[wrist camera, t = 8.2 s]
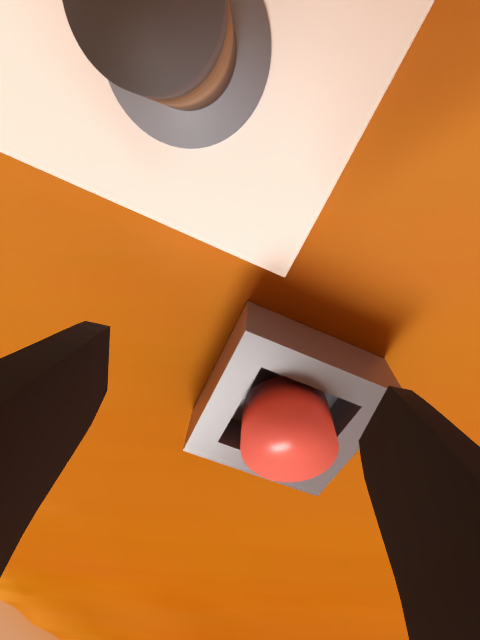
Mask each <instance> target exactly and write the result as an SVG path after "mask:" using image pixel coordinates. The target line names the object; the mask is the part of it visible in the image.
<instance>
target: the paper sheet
mask: <svg viewBox="0 0 480 640" xmlns="http://www.w3.org/2000/svg"><path fill="white" fill-rule="evenodd" d="M434 1H435V0H228V2H229V7H230V11H231V16H232V21H233V26H234V30H235V35H236V42H237V58H236V65H235V70H234V73H233V76H232V79H231V81H230V83H229V85H228V87H227V89H226V90H225V91H224V93H223V94H222V95H221V96H220V97H219V98H218V100H216V101H215V102H214V103H213V104H211V105H209V106H207V107H206V108H203V109H200V110H196V111H182V110H178V109H174V108H172V107H169V106H166V105H164V104H161V103H158V102H156V101H153V100H150V99H148V98H145V97H143V96H140V95H137V94H135V93H132V92H130V91H127V90H125V89H122V88H120V87H119V86H117V85H115V84H114V83H112V82H111V81H109V80H108V79H107V78H105V77H104V76H103V75H102V74H101V73H100V72H99V71H98V70H97V69H96V68H95V67H94V66H93V65H92V64H91V62H90V61H89V60H88V59H87V57H86V56H85V54H84V53H83V51H82V50H81V48H80V47H79V45H78V43H77V41H76V39H75V37H74V35H73V33H72V31H71V28H70V26H69V23H68V20H67V17H66V14H65V11H64V6H63V2H62V0H0V152H2V153H4V154H6V155H9V156H11V157H13V158H15V159H18V160H20V161H22V162H24V163H27V164H29V165H31V166H33V167H36V168H38V169H40V170H43V171H45V172H47V173H49V174H52V175H54V176H56V177H58V178H61V179H63V180H65V181H67V182H70V183H72V184H74V185H76V186H79V187H81V188H83V189H85V190H88V191H90V192H92V193H94V194H97V195H99V196H101V197H104V198H106V199H108V200H110V201H113V202H115V203H117V204H119V205H122V206H124V207H126V208H128V209H131V210H133V211H135V212H137V213H140V214H142V215H144V216H146V217H149V218H151V219H153V220H155V221H158V222H160V223H162V224H165V225H167V226H169V227H171V228H174V229H176V230H178V231H180V232H183V233H185V234H187V235H189V236H192V237H194V238H196V239H198V240H201V241H203V242H205V243H207V244H210V245H212V246H214V247H216V248H219V249H221V250H223V251H225V252H228V253H230V254H232V255H235V256H237V257H239V258H241V259H244V260H246V261H248V262H250V263H253V264H255V265H257V266H259V267H262V268H264V269H266V270H268V271H271V272H273V273H275V274H277V275H280V276H282V277H284V278H285V277H286V275H287V273H288V271H289V269H290V267H291V265H292V264H293V262H294V260H295V258H296V256H297V254H298V253H299V251H300V249H301V247H302V245H303V243H304V241H305V240H306V238H307V236H308V234H309V232H310V230H311V228H312V227H313V225H314V223H315V221H316V219H317V217H318V215H319V214H320V212H321V210H322V208H323V206H324V204H325V203H326V201H327V199H328V197H329V195H330V193H331V191H332V190H333V188H334V186H335V184H336V182H337V180H338V178H339V177H340V175H341V173H342V171H343V169H344V167H345V166H346V164H347V162H348V160H349V158H350V156H351V154H352V153H353V151H354V149H355V147H356V145H357V143H358V141H359V140H360V138H361V136H362V134H363V132H364V130H365V129H366V127H367V125H368V123H369V121H370V119H371V117H372V116H373V114H374V112H375V110H376V108H377V106H378V104H379V103H380V101H381V99H382V97H383V95H384V93H385V91H386V90H387V88H388V86H389V84H390V82H391V80H392V79H393V77H394V75H395V73H396V71H397V69H398V67H399V66H400V64H401V62H402V60H403V58H404V56H405V54H406V53H407V51H408V49H409V47H410V45H411V43H412V42H413V40H414V38H415V36H416V34H417V32H418V30H419V29H420V27H421V25H422V23H423V21H424V19H425V17H426V16H427V14H428V12H429V10H430V8H431V6H432V4H433V3H434Z"/></svg>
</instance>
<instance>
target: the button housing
mask: <svg viewBox="0 0 480 640" xmlns="http://www.w3.org/2000/svg"><path fill="white" fill-rule="evenodd" d="M284 376H285V377H288V378H290V379H293V380H295V381H298V382H301V383H303V384H306V385H308V386H311V387H313V388H316V389H318V390H321V391H322V392H323V393H324V395H325V396H326V399H327V401H328V405H329V409H330V413H331V416H332V420H333V424H334V428H335V431H336V435H337V439H338V443H339V451H338V455H337V458H336V460H335V461H334V463H333V464H332V465H331V466H330V468H329V469H327V470H326V471H325V472H323V473H322V474H320V475H318V476H316V477H314V478H311V479H308V480H304V481H299V482H278V481H274V482H277V483H280V484H283V485H286V486H289V487H292V488H295V489H298V490H300V491H303V492H306V493H309V494H312V495H315V496H318V495H319V494H320V493H321V491H322V490H323V489H324V488H325V487H326V486H327V485H328V484H329V482H330V481H331V480H332V479H333V478H334V477H335V476H336V474H337V473H338V472H339V471H340V470H341V469H342V468H343V467H344V465H345V464H346V463H347V462H348V461H349V460H350V459H351V458H352V456H353V455H354V454H355V453H356V452H357V451H358V450H359V449H360V448H359V439H360V437H361V435H362V433H363V432H364V430H365V428H366V426H367V424H368V423H369V421H370V419H371V417H372V415H373V413H374V412H375V410H376V408H377V406H378V404H379V402H380V401H381V399H382V397H383V395H384V393H385V392H386V390H387V388H388V386H393V387H398V388H401V386H400V385H399V383H398V381H397V380H396V378H395V376H394V374H393V373H392V371H391V369H390V367H389V366H388V364H387V362H386V360H385V359H384V358H382V357H379V356H377V355H375V354H372V353H370V352H368V351H365V350H363V349H361V348H358V347H356V346H353V345H351V344H349V343H346V342H344V341H342V340H339V339H337V338H335V337H332V336H330V335H328V334H325V333H323V332H320V331H318V330H316V329H313V328H311V327H309V326H306V325H304V324H302V323H299V322H297V321H294V320H292V319H290V318H287V317H285V316H283V315H280V314H278V313H276V312H273V311H271V310H268V309H266V308H264V307H261V306H259V305H257V304H254V303H252V302H250V301H247V303H246V305H245V307H244V309H243V311H242V313H241V315H240V317H239V319H238V321H237V323H236V325H235V327H234V329H233V331H232V333H231V335H230V337H229V339H228V341H227V343H226V345H225V347H224V349H223V351H222V353H221V355H220V357H219V359H218V361H217V363H216V365H215V367H214V369H213V371H212V373H211V375H210V377H209V379H208V381H207V383H206V385H205V387H204V389H203V391H202V393H201V395H200V397H199V399H198V401H197V403H196V405H195V407H194V409H193V411H192V415H191V419H190V423H189V427H188V432H187V436H186V440H185V444H184V448H183V451H186V452H189V453H192V454H195V455H197V456H200V457H203V458H206V459H209V460H212V461H215V462H218V463H221V464H224V465H227V466H230V467H233V468H236V469H239V470H242V471H245V472H247V473H250V474H253V475H256V476H259V477H262V476H260V475H258V474H256V473H255V472H253V471H252V470H251V469H250V468H249V467H248V466H247V465H246V464H245V462H244V461H243V458H242V456H241V452H240V442H241V425H242V408H243V403H244V400H245V398H246V396H247V394H248V393H249V392H250V391H251V390H252V389H253V388H254V387H255V386H256V385H258V384H259V383H261V382H263V381H265V380H268V379H271V378H276V377H284ZM262 478H264V477H262ZM265 479H267V478H265ZM268 480H270V479H268ZM271 481H273V480H271Z"/></svg>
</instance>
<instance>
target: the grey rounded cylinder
mask: <svg viewBox="0 0 480 640" xmlns="http://www.w3.org/2000/svg"><path fill="white" fill-rule="evenodd" d="M62 2H63V6H64V11H65V14H66V17H67V20H68V23H69V26H70V28H71V31H72V33H73V35H74V37H75V39H76V41H77V43H78V45H79V47H80V48H81V50H82V51H83V53H84V54H85V56H86V57H87V59H88V60H89V61H90V62H91V64H92V65H93V66H94V67H95V68H96V69H97V70H98V71H99V72H100V73H101V74H102V75H103V76H104V77H105V78H107V79H108V80H109V81H111V82H112V83H114V84H115V85H117V86H119V87H120V88H122V89H125V90H127V91H130V92H132V93H135V94H137V95H140V96H143V97H145V98H148V99H150V100H153V101H156V102H158V103H161V104H164V105H166V106H169V107H172V108H174V109H178V110H182V111H196V110H200V109H203V108H206V107H207V106H209V105H211V104H213V103H214V102H215V101H216V100H218V98H219V97H220V96H221V95H222V94H223V93H224V91H225V90H226V89H227V87H228V85H229V83H230V81H231V79H232V76H233V73H234V70H235V65H236V58H237V42H236V35H235V30H234V26H233V21H232V16H231V11H230V7H229V2H228V0H62Z"/></svg>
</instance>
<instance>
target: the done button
mask: <svg viewBox="0 0 480 640" xmlns="http://www.w3.org/2000/svg"><path fill="white" fill-rule="evenodd" d="M338 451H339V443H338V439H337V435H336V431H335V428H334V424H333V420H332V416H331V413H330V409H329V405H328V401H327V399H326V396H325V395H324V393H323V392H322V391H321V390H318V389H316V388H313V387H311V386H308V385H306V384H303V383H301V382H298V381H295V380H293V379H290V378H288V377H285V376H284V377H276V378H271V379H268V380H265V381H263V382H261V383H259V384H258V385H256V386H255V387H254V388H253V389H252V390H251V391H250V392H249V393H248V394H247V396H246V398H245V400H244V403H243V408H242V425H241V442H240V452H241V456H242V458H243V461H244V462H245V464H246V465H247V466H248V467H249V468H250V469H251V470H252V471H253V472H255V473H256V474H258V475H260V476H262V477H264V478H267V479H270V480H273V481H278V482H299V481H304V480H308V479H311V478H314V477H316V476H318V475H320V474H322V473H323V472H325V471H326V470H327V469H329V468H330V466H331V465H332V464H333V463H334V461H335V460H336V458H337V455H338Z"/></svg>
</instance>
